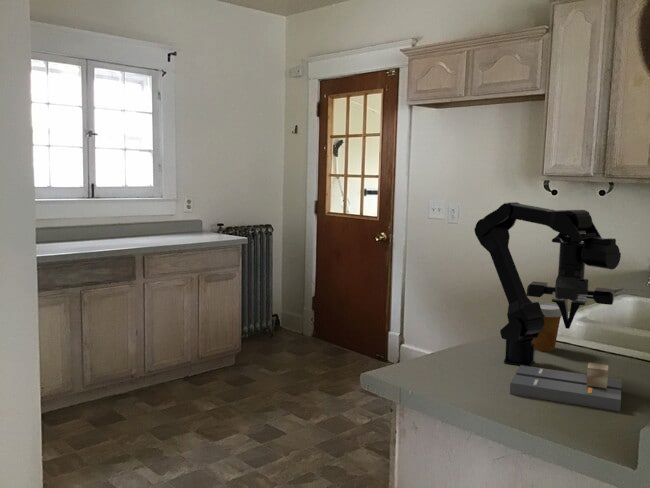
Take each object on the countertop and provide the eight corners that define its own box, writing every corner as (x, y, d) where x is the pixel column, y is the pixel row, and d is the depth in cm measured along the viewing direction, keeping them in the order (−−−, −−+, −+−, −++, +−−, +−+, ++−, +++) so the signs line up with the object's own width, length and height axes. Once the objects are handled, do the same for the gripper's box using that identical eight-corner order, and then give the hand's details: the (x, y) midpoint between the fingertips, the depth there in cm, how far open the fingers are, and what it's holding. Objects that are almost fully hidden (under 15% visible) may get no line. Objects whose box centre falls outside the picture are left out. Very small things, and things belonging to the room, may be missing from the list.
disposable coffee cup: (560, 345, 174) (562, 304, 173) (561, 354, 165) (563, 311, 164) (524, 342, 177) (526, 301, 176) (524, 351, 168) (526, 308, 167)
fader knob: (585, 393, 133) (587, 367, 133) (587, 387, 137) (588, 362, 136) (606, 396, 131) (607, 370, 131) (606, 390, 135) (608, 365, 134)
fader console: (509, 393, 135) (510, 382, 135) (519, 375, 148) (520, 364, 148) (620, 411, 126) (621, 399, 126) (620, 390, 138) (621, 379, 138)
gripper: (524, 264, 141) (520, 330, 143) (613, 271, 133) (608, 342, 134) (532, 258, 151) (529, 320, 153) (616, 265, 142) (611, 330, 144)
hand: (567, 328), depth 146 cm, fingers closed
